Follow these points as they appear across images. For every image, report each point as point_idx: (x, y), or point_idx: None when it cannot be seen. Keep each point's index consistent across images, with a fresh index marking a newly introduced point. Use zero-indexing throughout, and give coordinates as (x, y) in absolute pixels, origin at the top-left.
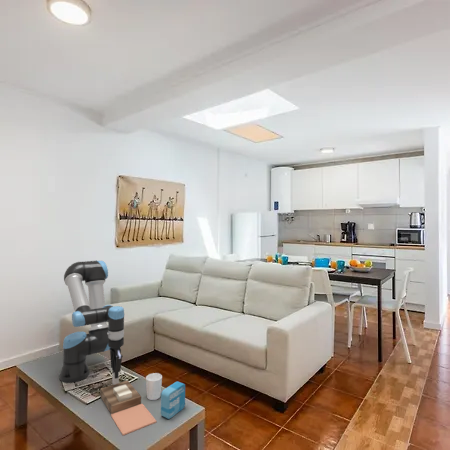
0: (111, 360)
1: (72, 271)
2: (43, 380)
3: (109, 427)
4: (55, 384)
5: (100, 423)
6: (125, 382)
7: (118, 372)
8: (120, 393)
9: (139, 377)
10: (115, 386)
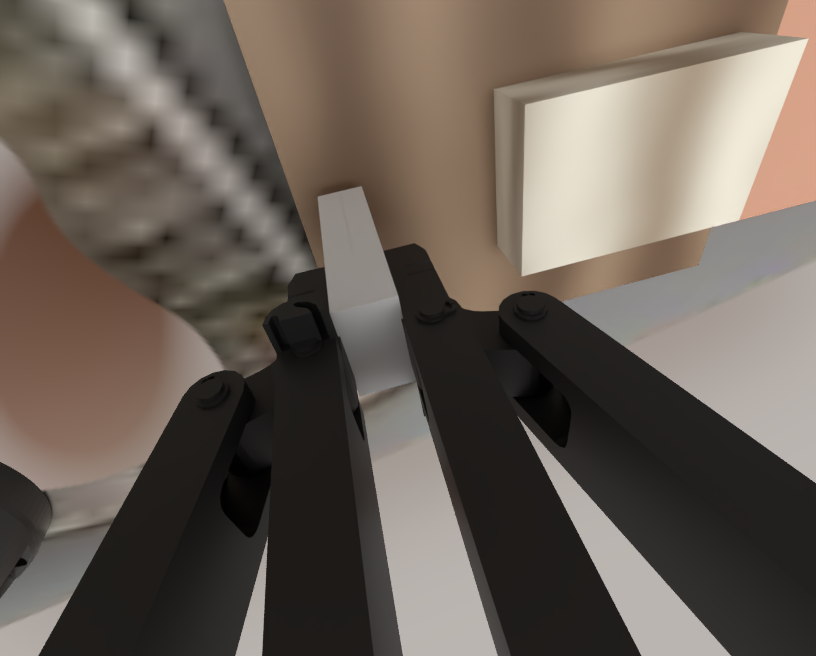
0: (237, 627)
1: None
2: (17, 605)
3: (753, 248)
4: (79, 555)
5: (673, 296)
6: (288, 47)
7: (390, 279)
8: (696, 204)
9: None
10: None
